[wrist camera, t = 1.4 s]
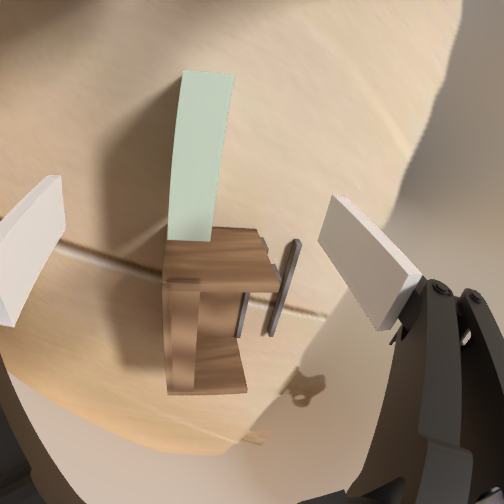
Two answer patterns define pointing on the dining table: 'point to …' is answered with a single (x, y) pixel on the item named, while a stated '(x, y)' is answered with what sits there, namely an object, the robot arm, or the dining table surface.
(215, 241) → the cabinet
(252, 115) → the dining table surface
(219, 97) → the door
